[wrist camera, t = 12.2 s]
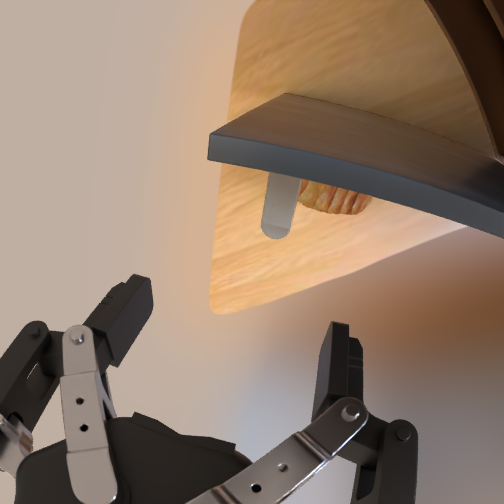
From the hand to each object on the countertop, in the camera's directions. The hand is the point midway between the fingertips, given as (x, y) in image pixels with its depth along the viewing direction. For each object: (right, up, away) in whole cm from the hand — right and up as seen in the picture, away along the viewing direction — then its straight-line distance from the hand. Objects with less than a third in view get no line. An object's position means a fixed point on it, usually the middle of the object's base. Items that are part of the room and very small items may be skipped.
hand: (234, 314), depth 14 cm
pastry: (+10, +11, +23) cm, 28 cm away
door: (+17, +14, +19) cm, 29 cm away
